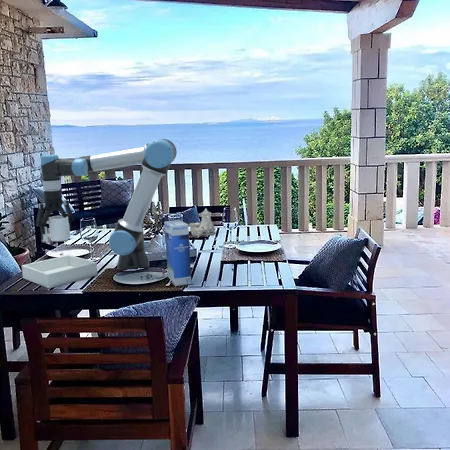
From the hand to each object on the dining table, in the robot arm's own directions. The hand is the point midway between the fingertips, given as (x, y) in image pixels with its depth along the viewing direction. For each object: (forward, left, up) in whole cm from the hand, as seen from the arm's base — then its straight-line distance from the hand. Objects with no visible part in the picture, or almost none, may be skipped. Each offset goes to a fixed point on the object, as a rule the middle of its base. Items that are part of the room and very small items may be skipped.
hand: (57, 239), depth 222 cm
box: (+1, 0, -18) cm, 18 cm away
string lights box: (-48, -29, -18) cm, 59 cm away
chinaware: (+14, -103, -18) cm, 106 cm away
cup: (0, +1, 0) cm, 1 cm away
